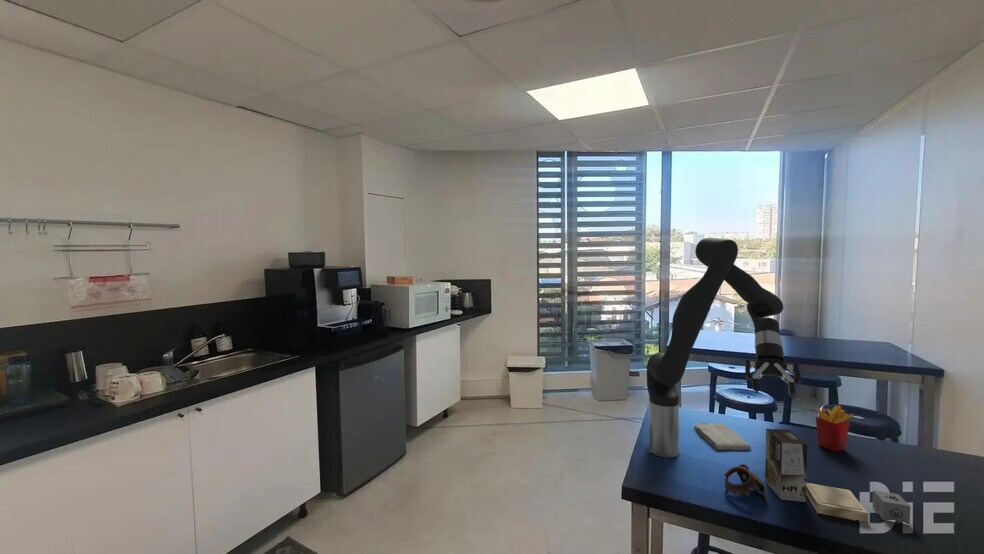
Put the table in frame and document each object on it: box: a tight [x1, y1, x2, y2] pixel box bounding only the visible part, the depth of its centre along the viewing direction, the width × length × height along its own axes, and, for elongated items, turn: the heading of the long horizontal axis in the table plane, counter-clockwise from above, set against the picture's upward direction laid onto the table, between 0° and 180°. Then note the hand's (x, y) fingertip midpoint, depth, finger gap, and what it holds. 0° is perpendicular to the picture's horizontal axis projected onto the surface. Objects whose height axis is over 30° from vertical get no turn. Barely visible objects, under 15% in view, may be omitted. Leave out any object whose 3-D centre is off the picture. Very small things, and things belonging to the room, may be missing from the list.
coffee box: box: [764, 428, 808, 503], centre depth 109 cm, size 9×6×16 cm
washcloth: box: [693, 422, 752, 451], centre depth 141 cm, size 12×18×3 cm, turn 179°
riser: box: [806, 482, 869, 523], centre depth 103 cm, size 10×10×3 cm
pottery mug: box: [724, 463, 768, 502], centre depth 110 cm, size 12×10×8 cm
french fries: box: [815, 405, 854, 453], centre depth 131 cm, size 9×8×15 cm
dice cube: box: [872, 490, 911, 524], centre depth 98 cm, size 5×5×5 cm
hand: (773, 393), depth 120 cm, fingers open, 8 cm apart
